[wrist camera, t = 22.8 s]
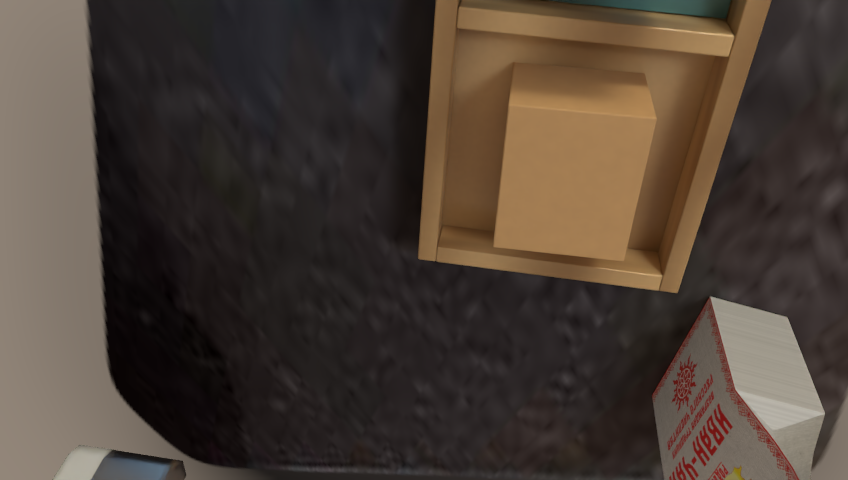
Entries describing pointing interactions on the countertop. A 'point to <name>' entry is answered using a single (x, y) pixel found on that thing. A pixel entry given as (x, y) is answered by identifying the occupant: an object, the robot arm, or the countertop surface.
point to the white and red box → (737, 400)
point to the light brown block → (573, 160)
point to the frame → (593, 49)
